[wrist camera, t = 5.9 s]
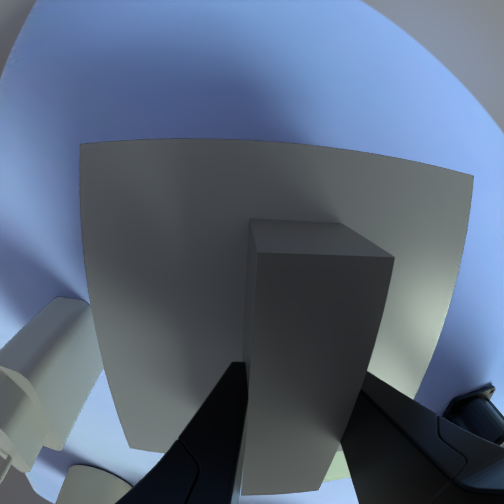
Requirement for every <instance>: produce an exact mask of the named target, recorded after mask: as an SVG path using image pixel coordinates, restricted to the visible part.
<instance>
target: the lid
mask: <svg viewBox="0 0 504 504" xmlns="http://www.w3.org/2000/svg"><path fill="white" fill-rule="evenodd" d="M473 180H474V176H473V175H470V174H466V173H462V172H458V171H454V170H450V169H446V168H442V167H438V166H434V165H429V164H425V163H420V162H416V161H411V160H406V159H401V158H395V157H390V156H385V155H379V154H373V153H367V152H360V151H354V150H347V149H340V148H332V147H324V146H315V145H306V144H296V143H285V142H272V141H257V140H238V139H199V138H179V139H141V140H122V141H108V142H96V143H85V144H80V213H81V229H82V242H83V253H84V262H85V270H86V278H87V285H88V292H89V298H90V304H91V310H92V316H93V321H94V326H95V331H96V336H97V340H98V345H99V349H100V354H101V358H102V362H103V366H104V370H105V373H106V377H107V381H108V384H109V388H110V391H111V395H112V398H113V401H114V404H115V408H116V411H117V414H118V417H119V420H120V423H121V426H122V428H123V431H124V434H125V437H126V439H127V442H128V445H129V447H130V448H133V449H139V450H145V451H152V452H159V453H166V452H167V451H168V450H169V448H170V447H171V446H172V444H173V443H174V442H175V440H178V436H179V435H180V434H181V432H182V431H183V430H184V428H185V427H186V426H187V424H188V423H189V421H190V420H191V419H192V417H193V416H194V415H195V413H196V412H197V410H198V409H199V408H200V406H201V405H202V403H203V402H204V401H205V399H206V398H207V396H208V395H209V394H210V392H211V391H212V389H213V388H214V386H215V385H216V384H217V382H218V381H219V379H220V378H221V376H222V375H223V374H224V372H225V371H226V369H227V368H228V366H229V365H230V363H231V362H233V361H238V362H245V365H246V376H247V387H248V397H249V406H248V420H247V433H246V447H245V455H244V463H243V471H242V479H241V495H274V494H288V493H299V492H308V491H316V490H319V488H320V486H321V484H322V482H323V480H324V478H325V476H326V474H327V471H328V469H329V467H330V465H331V463H332V461H333V458H334V456H335V454H336V452H339V451H343V450H342V447H341V444H340V441H341V439H342V436H343V434H344V431H345V429H346V426H347V424H348V421H349V419H350V416H351V413H352V411H353V408H354V405H355V403H356V400H357V397H358V394H359V392H360V390H361V387H362V384H363V381H364V378H365V375H366V372H367V371H369V372H370V373H372V374H373V375H375V376H376V377H378V378H379V379H381V380H383V381H384V382H386V383H387V384H389V385H391V386H392V387H394V388H395V389H397V390H398V391H400V392H402V393H403V394H405V395H406V396H408V397H410V398H411V399H413V400H414V398H415V395H416V393H417V391H418V389H419V387H420V384H421V382H422V380H423V377H424V375H425V373H426V370H427V368H428V365H429V363H430V360H431V358H432V355H433V353H434V350H435V347H436V345H437V342H438V339H439V336H440V333H441V331H442V328H443V325H444V321H445V318H446V315H447V312H448V309H449V305H450V302H451V298H452V295H453V291H454V287H455V284H456V280H457V276H458V272H459V267H460V263H461V258H462V254H463V249H464V244H465V239H466V233H467V227H468V221H469V214H470V207H471V199H472V190H473Z"/></svg>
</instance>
